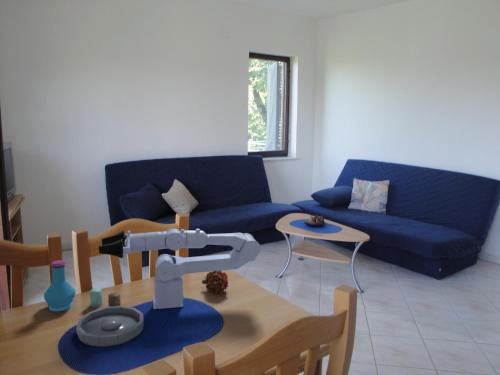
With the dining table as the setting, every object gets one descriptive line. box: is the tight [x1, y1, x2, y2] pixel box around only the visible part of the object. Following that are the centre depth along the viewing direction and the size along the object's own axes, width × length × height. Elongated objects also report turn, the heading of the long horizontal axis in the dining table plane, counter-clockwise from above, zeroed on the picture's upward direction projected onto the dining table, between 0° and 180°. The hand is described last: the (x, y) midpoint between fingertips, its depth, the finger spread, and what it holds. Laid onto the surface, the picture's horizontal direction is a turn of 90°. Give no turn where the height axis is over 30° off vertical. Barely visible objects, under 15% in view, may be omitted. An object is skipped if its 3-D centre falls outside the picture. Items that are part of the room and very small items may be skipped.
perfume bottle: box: [43, 259, 76, 312], centre depth 129 cm, size 9×9×15 cm
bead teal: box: [89, 287, 103, 308], centre depth 132 cm, size 4×4×5 cm
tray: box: [75, 305, 144, 348], centre depth 117 cm, size 18×18×3 cm
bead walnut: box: [107, 292, 121, 307], centre depth 129 cm, size 4×4×5 cm
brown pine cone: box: [201, 270, 229, 294], centre depth 145 cm, size 8×8×12 cm
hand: (100, 245), depth 127 cm, fingers open, 7 cm apart
